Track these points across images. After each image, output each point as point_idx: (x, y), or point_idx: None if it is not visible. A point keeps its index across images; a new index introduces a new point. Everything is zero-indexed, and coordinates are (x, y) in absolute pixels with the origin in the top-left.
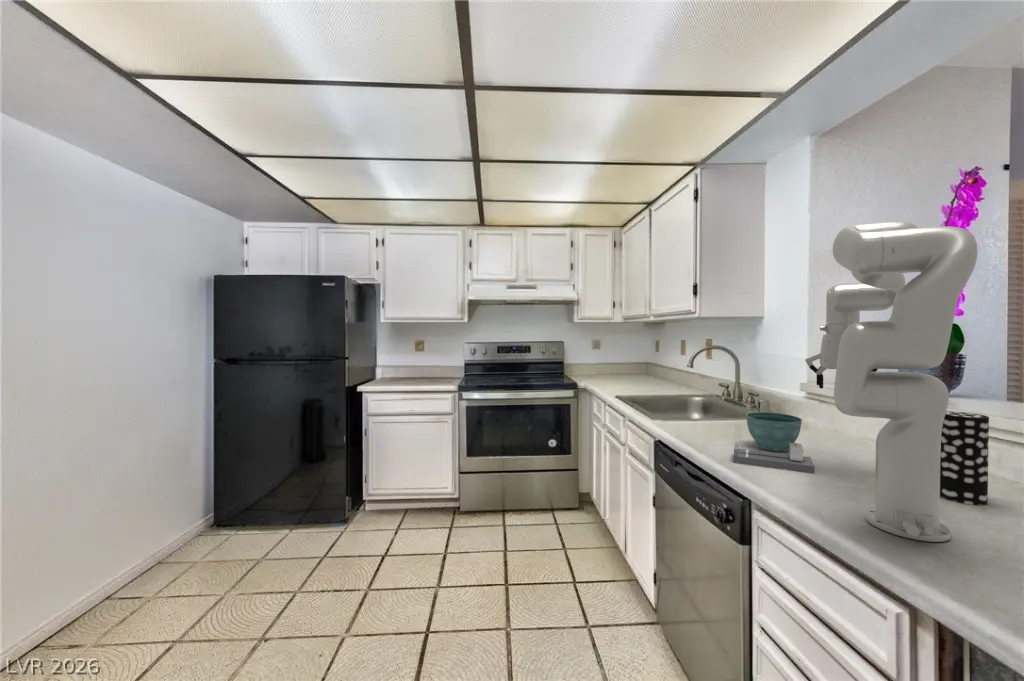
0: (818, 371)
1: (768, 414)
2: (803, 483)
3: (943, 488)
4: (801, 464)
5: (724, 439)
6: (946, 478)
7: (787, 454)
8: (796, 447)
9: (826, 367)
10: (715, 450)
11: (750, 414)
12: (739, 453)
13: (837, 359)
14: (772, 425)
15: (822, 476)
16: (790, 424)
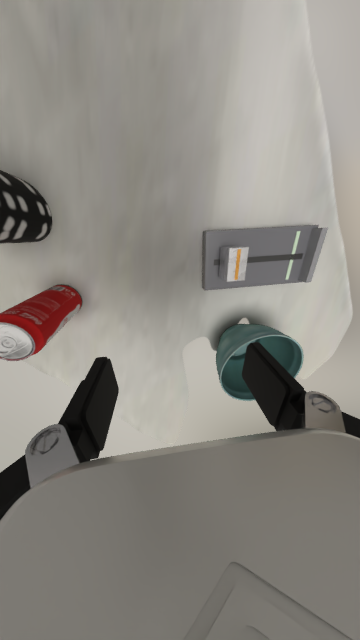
0: (329, 413)
1: None
2: (226, 149)
3: (29, 189)
4: (223, 232)
5: None
6: (8, 179)
7: (233, 286)
8: (239, 247)
9: (339, 433)
10: (316, 285)
11: None
12: (304, 249)
13: (353, 635)
14: (267, 332)
15: (193, 221)
16: (241, 342)
